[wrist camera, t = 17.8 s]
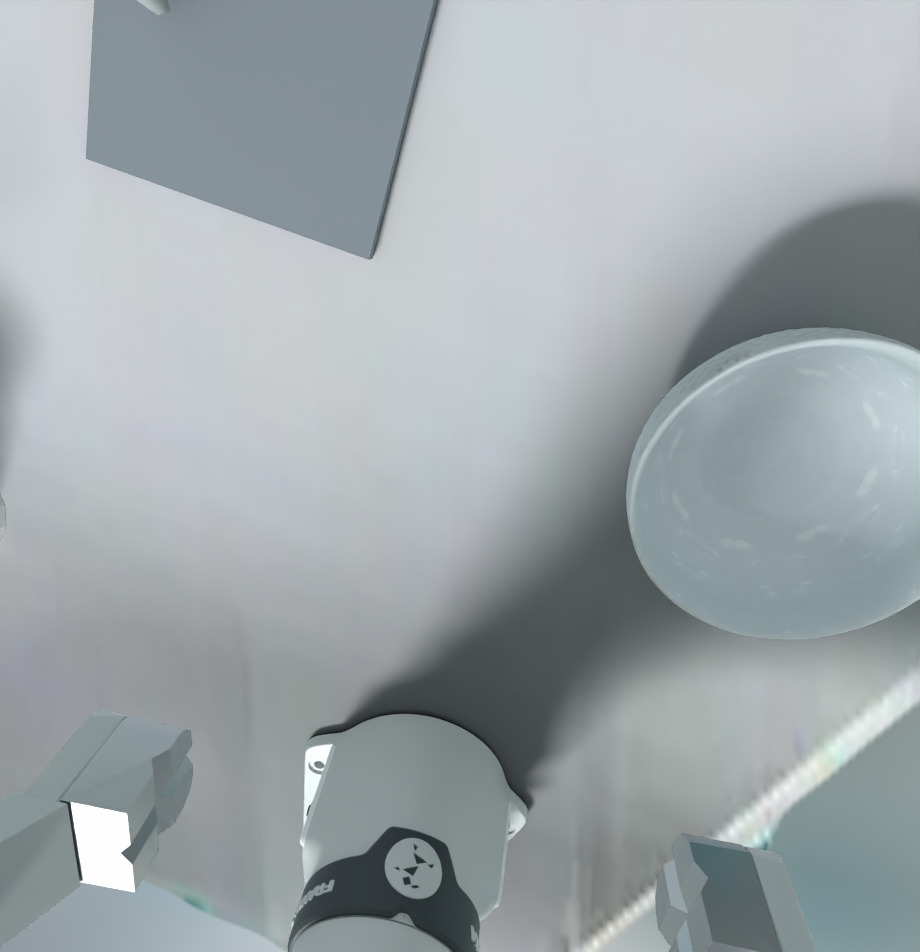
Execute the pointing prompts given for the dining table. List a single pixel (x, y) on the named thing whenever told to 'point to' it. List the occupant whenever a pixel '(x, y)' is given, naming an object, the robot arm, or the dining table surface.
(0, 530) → the french press
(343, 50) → the mat
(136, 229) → the dining table surface
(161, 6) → the rook chess piece
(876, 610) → the cereal bowl
